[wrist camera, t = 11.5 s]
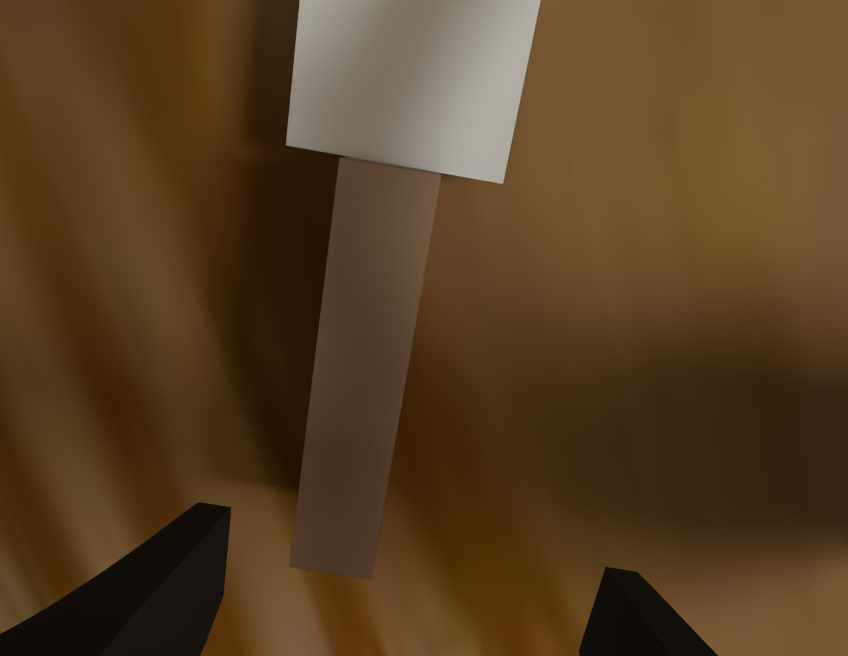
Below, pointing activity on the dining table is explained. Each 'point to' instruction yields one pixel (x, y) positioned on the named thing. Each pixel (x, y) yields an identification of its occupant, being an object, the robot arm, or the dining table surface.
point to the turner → (386, 222)
